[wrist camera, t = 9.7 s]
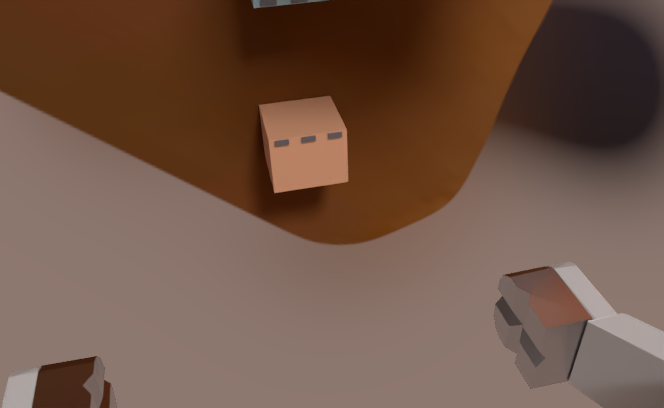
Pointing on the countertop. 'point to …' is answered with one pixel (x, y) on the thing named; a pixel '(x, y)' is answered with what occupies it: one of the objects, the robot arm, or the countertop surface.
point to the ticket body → (278, 2)
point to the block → (304, 143)
